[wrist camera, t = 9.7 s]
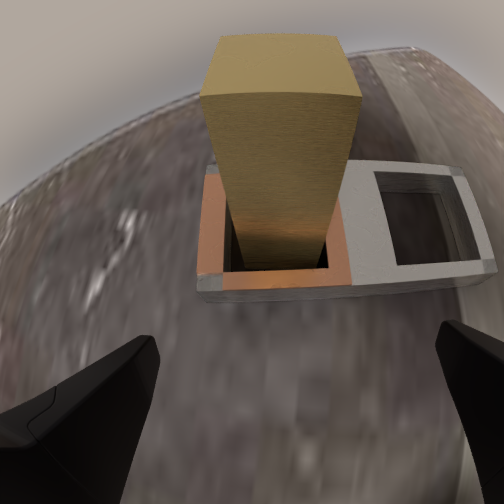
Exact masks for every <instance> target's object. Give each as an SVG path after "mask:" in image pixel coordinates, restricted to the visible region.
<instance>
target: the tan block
mask: <svg viewBox="0 0 504 504" xmlns="http://www.w3.org/2000/svg"><path fill="white" fill-rule="evenodd" d="M199 97H200V101H201V105H202V108H203V112H204V116H205V120H206V124H207V127H208V131H209V135H210V139H211V143H212V146H213V150H214V154H215V158H216V161H217V165H218V169H219V173H220V176H221V180H222V184H223V188H224V191H225V195H226V199H227V202H228V206H229V210H230V213H231V217H232V221H233V224H234V228H235V232H236V235H237V239H238V243H239V246H240V250H241V253H242V257H243V261H244V264H245V268H246V269H316V267H317V264H318V261H319V258H320V255H321V251H322V248H323V245H324V242H325V239H326V235H327V232H328V229H329V225H330V222H331V219H332V215H333V212H334V208H335V205H336V202H337V198H338V194H339V191H340V187H341V184H342V180H343V176H344V172H345V169H346V165H347V161H348V157H349V153H350V149H351V145H352V141H353V137H354V133H355V128H356V124H357V120H358V115H359V111H360V106H361V102H362V97H363V96H362V94H361V91H360V89H359V86H358V84H357V81H356V79H355V76H354V74H353V72H352V69H351V67H350V65H349V62H348V60H347V58H346V56H345V54H344V52H343V49H342V47H341V45H340V43H339V41H338V39H337V37H336V36H327V35H314V34H246V35H232V36H222V37H220V40H219V42H218V45H217V47H216V50H215V53H214V56H213V58H212V61H211V64H210V67H209V69H208V72H207V75H206V78H205V81H204V83H203V86H202V89H201V92H200V95H199Z"/></svg>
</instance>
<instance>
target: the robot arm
mask: <svg viewBox="0 0 504 504" xmlns="http://www.w3.org/2000/svg"><path fill="white" fill-rule="evenodd" d="M435 347H436V351H437V354H438V357H439V360H440V363H441V366H442V370H443V373H444V376H445V379H446V383H447V386H448V388H449V391H450V393H451V396H452V398H453V401H454V403H455V406H456V409H457V411H458V414H459V417H460V419H461V422H462V425H463V428H464V431H465V434H466V437H467V440H468V443H469V446H470V449H471V452H472V456H473V459H474V463H475V466H476V470H477V473H478V477H479V481H480V485H481V487H482V488H481V490H482V494H483V499H484V504H504V342H502V341H500V340H498V339H495V338H493V337H491V336H489V335H487V334H485V333H482V332H480V331H478V330H476V329H474V328H472V327H469V326H467V325H465V324H463V323H461V322H458V321H456V320H454V319H451V320H446V321H443V322H442V323H441V326H440V329H439V332H438V336H437V339H436V343H435ZM159 366H160V355H159V352H158V348H157V345H156V342H155V339H154V337H153V336H150V335H140V336H138V337H136V338H135V339H133V340H131V341H130V342H128V343H126V344H125V345H123V346H121V347H120V348H118V349H116V350H115V351H113V352H111V353H110V354H108V355H106V356H105V357H103V358H101V359H100V360H98V361H96V362H95V363H93V364H91V365H90V366H88V367H86V368H85V369H83V370H81V371H80V372H78V373H76V374H74V375H73V376H71V377H69V378H68V379H66V380H64V381H63V382H61V383H59V384H58V385H57V386H54V387H52V388H51V389H49V390H47V391H46V392H44V393H42V394H40V395H38V396H37V397H35V398H33V399H31V400H29V401H27V402H25V403H23V404H21V405H18V406H16V407H14V408H12V409H10V410H8V411H5V412H3V413H1V414H0V504H120V501H121V497H122V494H123V490H124V487H125V483H126V480H127V477H128V474H129V470H130V467H131V464H132V461H133V457H134V454H135V451H136V448H137V445H138V442H139V439H140V436H141V433H142V429H143V426H144V423H145V420H146V418H147V415H148V412H149V409H150V405H151V402H152V398H153V393H154V388H155V384H156V379H157V375H158V370H159Z"/></svg>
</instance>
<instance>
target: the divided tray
mask: <svg viewBox="0 0 504 504" xmlns="http://www.w3.org/2000/svg"><path fill="white" fill-rule="evenodd" d="M380 192H405V193H434V194H440V196H441V199H442V202H443V204H444V207H445V210H446V213H447V216H448V219H449V222H450V225H451V229H452V232H453V235H454V239H455V242H456V246H457V249H458V253H459V257H460V261H458V262H444V263H430V264H416V265H400V266H397V264H396V258H395V254H394V249H393V244H392V240H391V235H390V231H389V227H388V222H387V218H386V214H385V210H384V207H383V203H382V199H381V196H380ZM231 238H232V217H231V213H230V210H229V206H228V202H227V199H226V195H225V191H224V188H223V184H222V180H221V176H220V173H219V169H218V165H207V171H206V174H205V181H204V191H203V201H202V211H201V222H200V233H199V246H198V259H197V290H196V292H197V293H198V294H199V295H200V296H201V297H202V298H203V299H204V301H205V302H206V303H238V302H273V301H297V300H316V299H333V298H348V297H362V296H375V295H386V294H397V293H408V292H418V291H427V290H436V289H445V288H453V287H461V286H468V285H476V284H480V283H482V282H484V281H485V280H487V279H488V278H490V277H491V276H493V275H494V274H496V273H497V272H498V269H497V265H496V261H495V258H494V254H493V251H492V247H491V244H490V241H489V237H488V234H487V231H486V228H485V225H484V222H483V220H482V217H481V214H480V211H479V209H478V206H477V203H476V201H475V198H474V196H473V194H472V191H471V189H470V186H469V184H468V182H467V180H466V177H465V175H464V173H463V171H462V169H461V167H455V166H445V165H435V164H424V163H411V162H395V161H373V160H348V161H347V165H346V169H345V172H344V176H343V180H342V184H341V187H340V191H339V194H338V198H337V202H336V205H335V208H334V212H333V215H332V219H331V222H330V225H329V229H328V232H327V235H326V239H325V244H326V252H327V260H328V268H323V269H301V270H278V271H251V272H231Z"/></svg>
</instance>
